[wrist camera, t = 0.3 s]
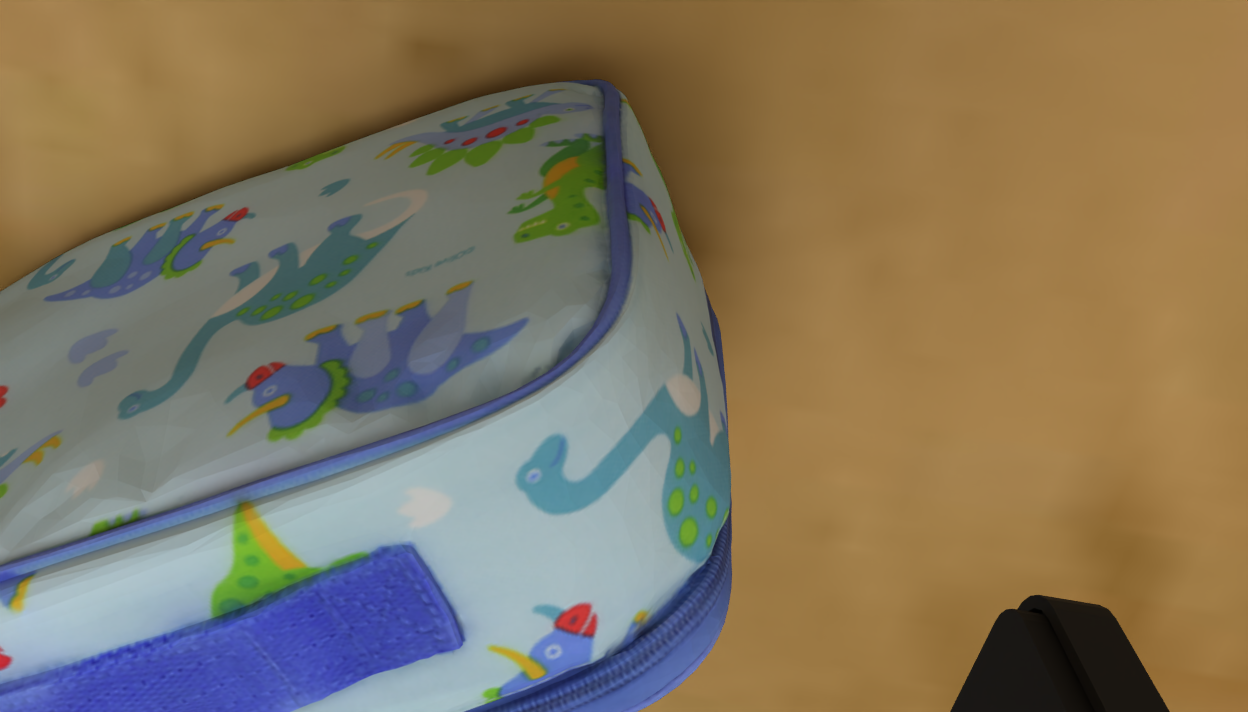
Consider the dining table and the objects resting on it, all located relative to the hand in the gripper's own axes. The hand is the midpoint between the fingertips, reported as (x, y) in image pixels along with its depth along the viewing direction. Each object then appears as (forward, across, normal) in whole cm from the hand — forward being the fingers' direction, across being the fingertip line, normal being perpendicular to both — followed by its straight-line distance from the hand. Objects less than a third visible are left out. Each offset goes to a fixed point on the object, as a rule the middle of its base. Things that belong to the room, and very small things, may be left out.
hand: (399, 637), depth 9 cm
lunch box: (+31, +5, +14) cm, 34 cm away
